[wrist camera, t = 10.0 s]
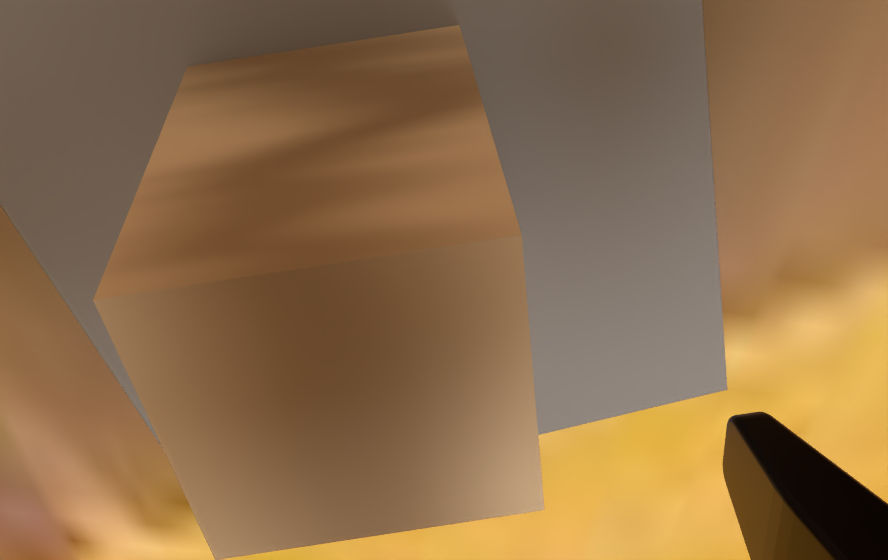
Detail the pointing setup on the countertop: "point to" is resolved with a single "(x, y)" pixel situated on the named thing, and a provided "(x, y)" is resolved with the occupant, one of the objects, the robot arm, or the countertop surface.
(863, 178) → the countertop surface
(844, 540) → the robot arm
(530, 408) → the beech block
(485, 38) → the grey riser
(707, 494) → the countertop surface
